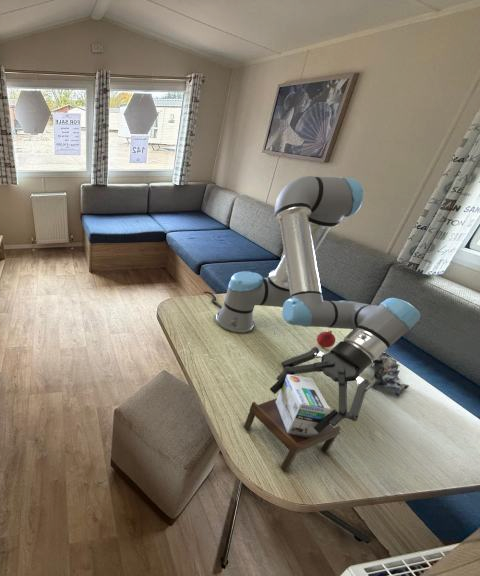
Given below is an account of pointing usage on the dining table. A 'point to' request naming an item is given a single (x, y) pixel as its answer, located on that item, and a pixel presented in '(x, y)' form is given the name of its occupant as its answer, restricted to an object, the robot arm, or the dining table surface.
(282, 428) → the wooden step stool
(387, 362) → the grey rugged figurine
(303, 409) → the light bulb box
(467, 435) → the dining table surface
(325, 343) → the onion
